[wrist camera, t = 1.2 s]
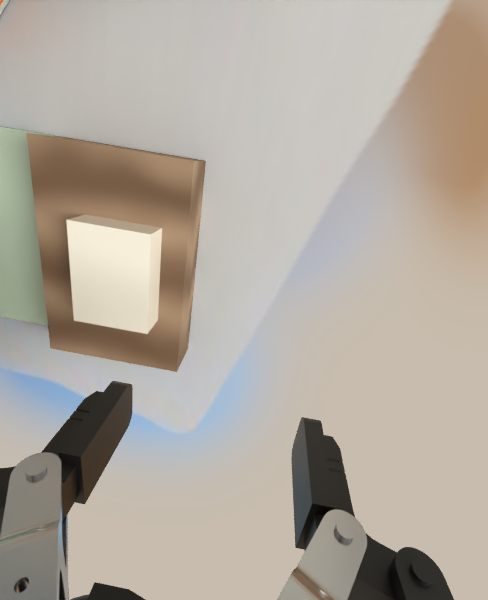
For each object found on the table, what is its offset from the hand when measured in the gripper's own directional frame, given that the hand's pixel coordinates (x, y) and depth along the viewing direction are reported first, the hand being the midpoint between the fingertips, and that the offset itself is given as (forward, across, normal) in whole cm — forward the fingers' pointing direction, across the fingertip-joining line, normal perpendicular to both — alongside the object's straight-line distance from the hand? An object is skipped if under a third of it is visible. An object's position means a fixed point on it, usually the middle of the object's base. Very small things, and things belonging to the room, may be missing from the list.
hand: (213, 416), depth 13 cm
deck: (+18, +11, 0) cm, 21 cm away
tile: (+14, +10, 0) cm, 17 cm away
